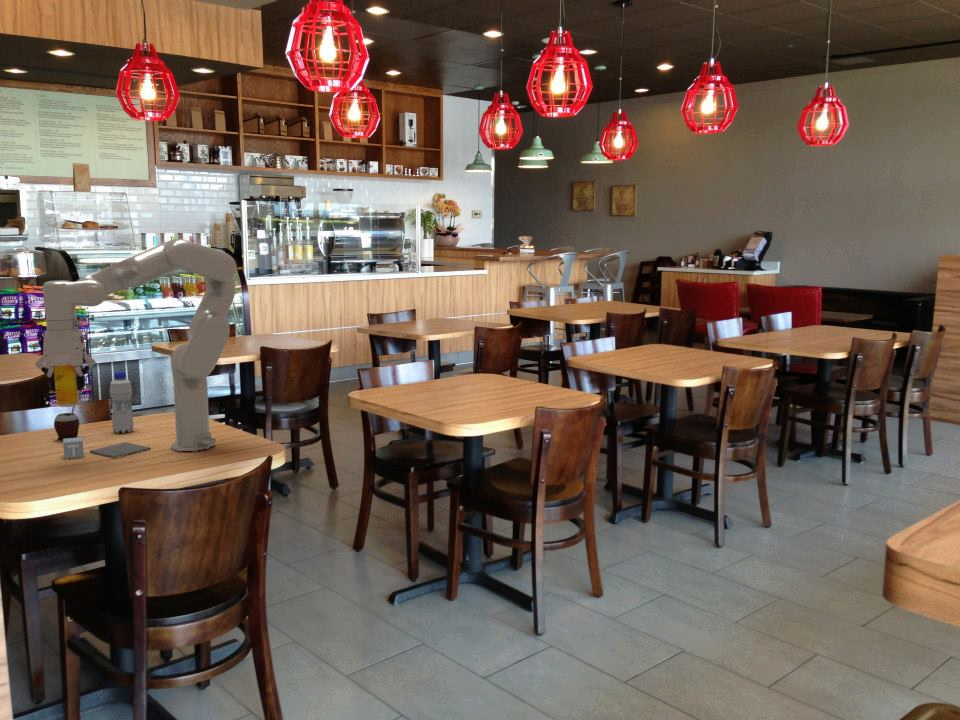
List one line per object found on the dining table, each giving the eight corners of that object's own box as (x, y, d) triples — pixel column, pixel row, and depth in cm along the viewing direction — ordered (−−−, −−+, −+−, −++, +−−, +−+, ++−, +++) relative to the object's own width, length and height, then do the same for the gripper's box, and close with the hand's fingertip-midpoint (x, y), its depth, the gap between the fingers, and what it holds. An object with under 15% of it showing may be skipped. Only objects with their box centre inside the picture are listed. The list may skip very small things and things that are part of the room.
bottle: (112, 430, 265) (108, 370, 262) (134, 428, 268) (130, 369, 265) (112, 435, 259) (108, 373, 256) (134, 433, 262) (131, 372, 259)
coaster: (150, 449, 242) (150, 447, 242) (114, 458, 232) (114, 456, 232) (126, 443, 248) (125, 442, 248) (89, 452, 238) (89, 450, 238)
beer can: (59, 403, 227) (54, 350, 224) (82, 402, 229) (78, 349, 226) (55, 408, 221) (49, 354, 219) (79, 406, 223) (74, 352, 221)
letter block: (64, 455, 235) (63, 438, 234) (83, 453, 237) (82, 437, 237) (64, 459, 231) (63, 442, 230) (83, 457, 233) (82, 441, 232)
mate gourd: (50, 442, 250) (47, 394, 248) (64, 436, 258) (60, 389, 255) (74, 442, 250) (71, 394, 247) (87, 436, 258) (84, 390, 255)
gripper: (99, 323, 226) (104, 386, 229) (33, 325, 224) (39, 388, 227) (91, 326, 219) (96, 391, 222) (22, 328, 216) (29, 394, 219)
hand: (68, 389), depth 224 cm, fingers closed on beer can, 6 cm apart
